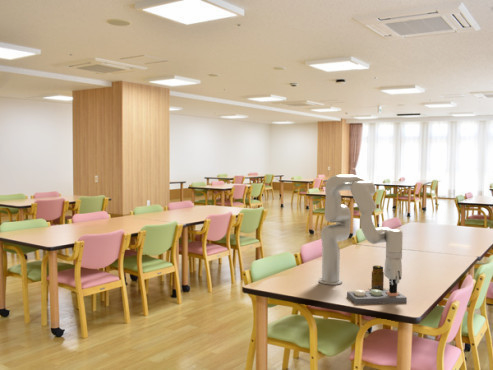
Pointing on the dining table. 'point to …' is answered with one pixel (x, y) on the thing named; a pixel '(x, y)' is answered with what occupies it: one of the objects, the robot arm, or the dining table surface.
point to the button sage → (376, 292)
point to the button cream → (359, 293)
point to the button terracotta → (392, 294)
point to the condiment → (378, 278)
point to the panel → (376, 298)
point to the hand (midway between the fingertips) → (393, 292)
